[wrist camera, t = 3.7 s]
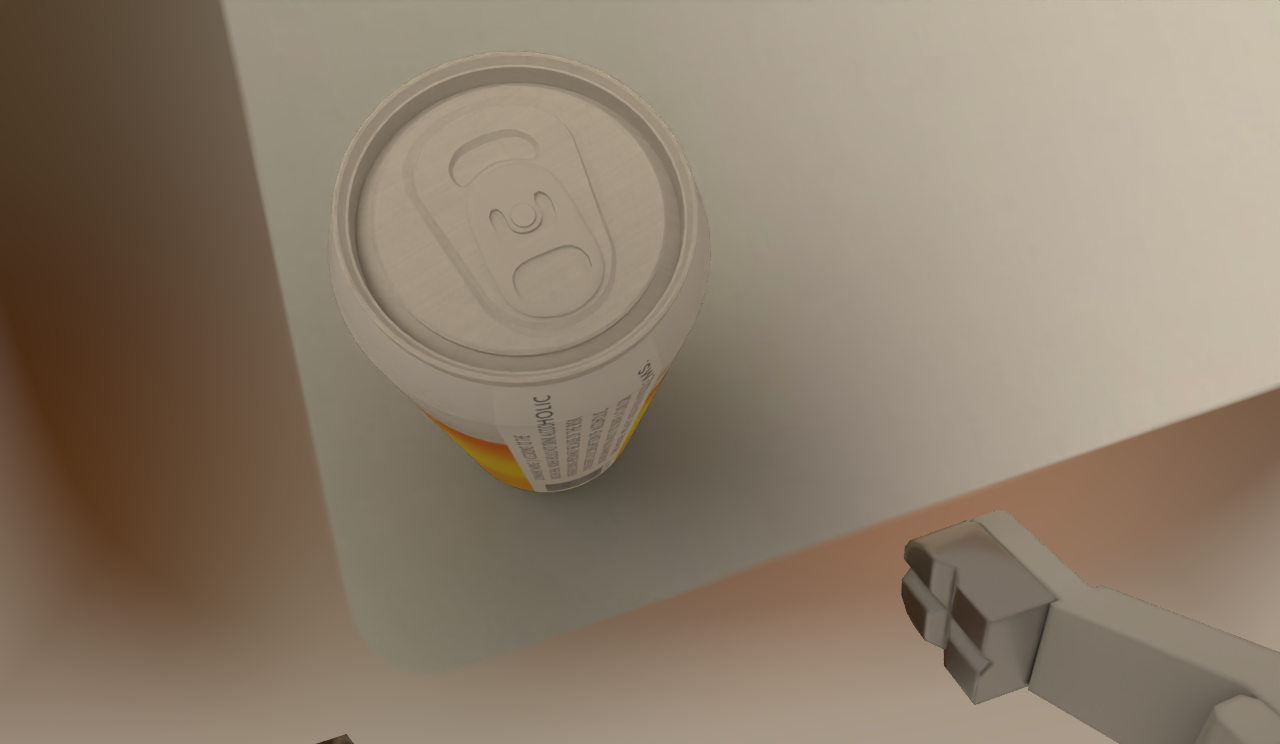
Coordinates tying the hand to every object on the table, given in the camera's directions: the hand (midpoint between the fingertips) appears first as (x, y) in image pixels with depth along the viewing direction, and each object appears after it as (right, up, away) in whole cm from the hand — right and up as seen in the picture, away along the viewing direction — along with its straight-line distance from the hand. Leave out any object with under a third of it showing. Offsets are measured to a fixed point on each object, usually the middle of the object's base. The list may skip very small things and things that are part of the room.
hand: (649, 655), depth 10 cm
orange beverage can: (-3, +3, +15) cm, 16 cm away
